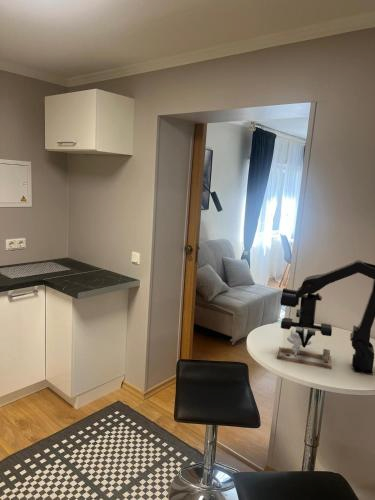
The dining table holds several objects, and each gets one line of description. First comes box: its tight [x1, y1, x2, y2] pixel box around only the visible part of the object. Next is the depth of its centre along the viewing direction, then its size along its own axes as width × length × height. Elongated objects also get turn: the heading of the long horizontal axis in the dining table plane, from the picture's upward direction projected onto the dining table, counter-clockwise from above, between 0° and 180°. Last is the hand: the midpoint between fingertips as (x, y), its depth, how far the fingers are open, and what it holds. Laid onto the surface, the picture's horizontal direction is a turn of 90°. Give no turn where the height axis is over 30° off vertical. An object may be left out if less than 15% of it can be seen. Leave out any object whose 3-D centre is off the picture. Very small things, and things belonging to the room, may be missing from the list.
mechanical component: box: [287, 328, 312, 346], centre depth 163 cm, size 10×4×10 cm
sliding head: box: [292, 338, 301, 356], centre depth 146 cm, size 2×6×5 cm, turn 160°
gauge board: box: [276, 346, 333, 370], centre depth 145 cm, size 20×9×4 cm, turn 70°
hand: (303, 347), depth 146 cm, fingers closed
